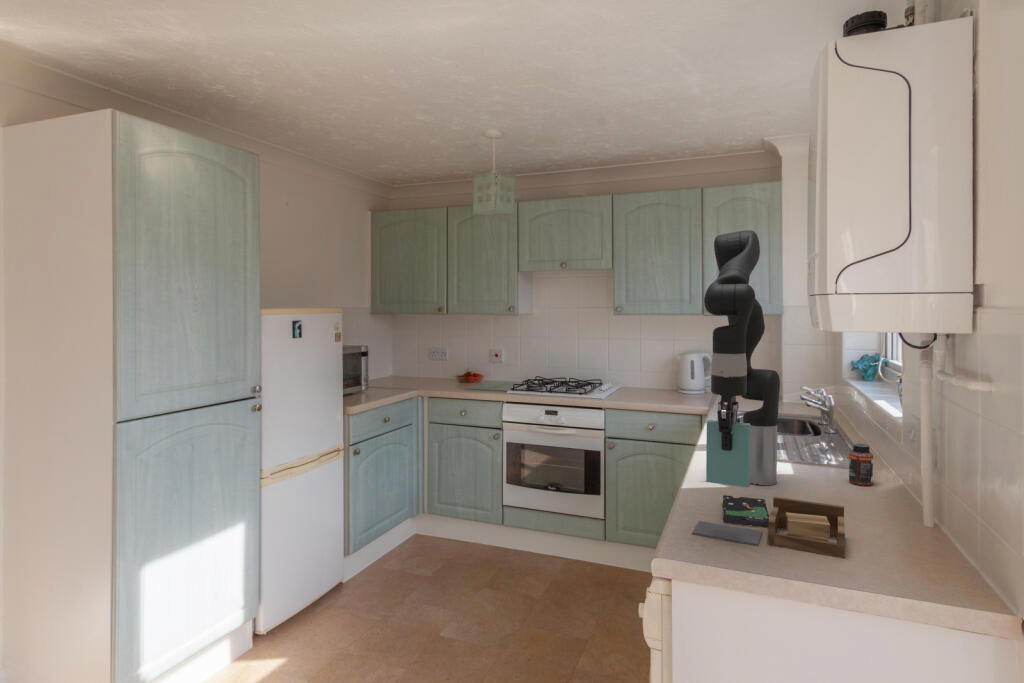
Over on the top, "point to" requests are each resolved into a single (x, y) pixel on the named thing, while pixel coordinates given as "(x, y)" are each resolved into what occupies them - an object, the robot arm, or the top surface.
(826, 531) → the oak block upper
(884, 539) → the top surface
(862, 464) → the supplement bottle
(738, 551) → the top surface
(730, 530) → the grey mat
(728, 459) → the teal board
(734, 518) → the disk drive
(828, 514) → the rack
